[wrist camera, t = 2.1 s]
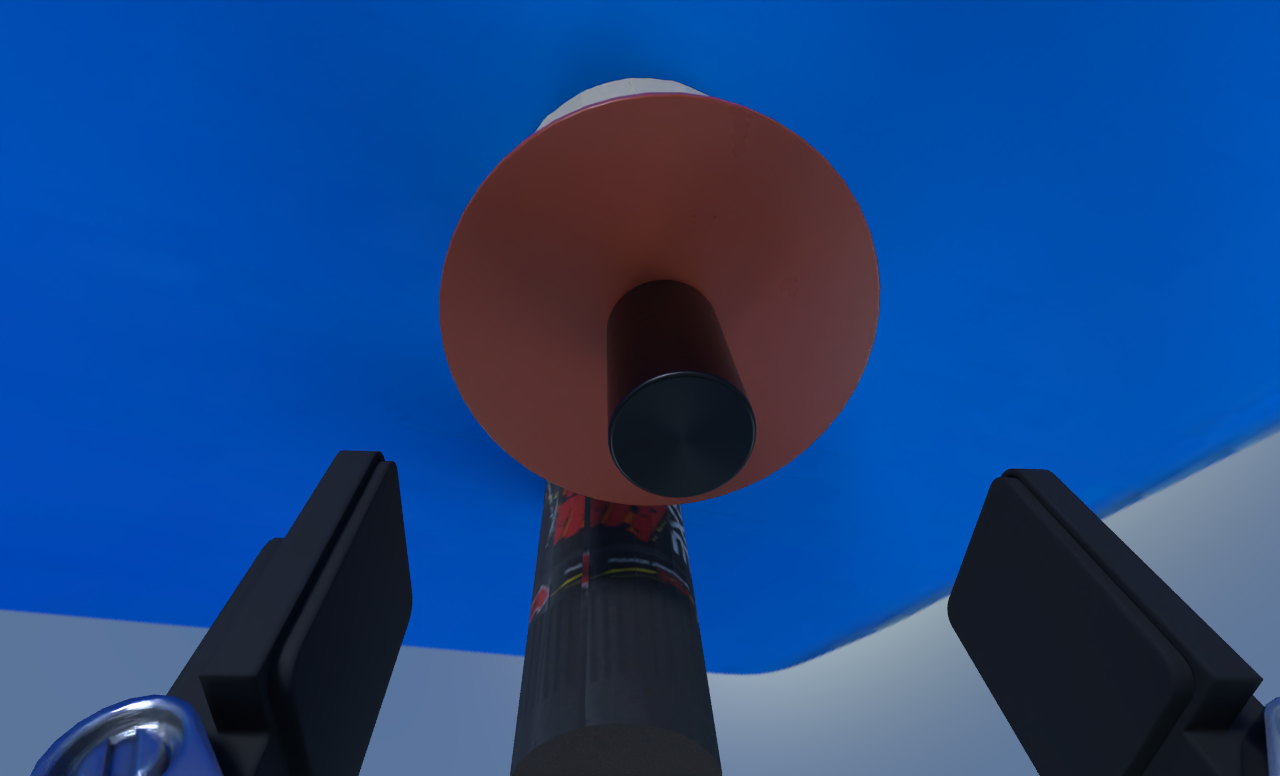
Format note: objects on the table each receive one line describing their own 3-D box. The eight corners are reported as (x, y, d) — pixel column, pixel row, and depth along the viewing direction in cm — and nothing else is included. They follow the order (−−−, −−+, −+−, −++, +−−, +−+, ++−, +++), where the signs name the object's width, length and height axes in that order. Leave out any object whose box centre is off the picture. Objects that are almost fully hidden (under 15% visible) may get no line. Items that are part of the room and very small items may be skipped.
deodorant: (700, 471, 32) (767, 785, 19) (613, 542, 34) (619, 874, 21) (609, 395, 30) (613, 690, 17) (521, 476, 32) (462, 799, 19)
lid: (910, 104, 16) (1070, 148, 11) (821, 486, 21) (897, 647, 16) (432, 72, 15) (336, 103, 10) (461, 477, 20) (409, 644, 15)
